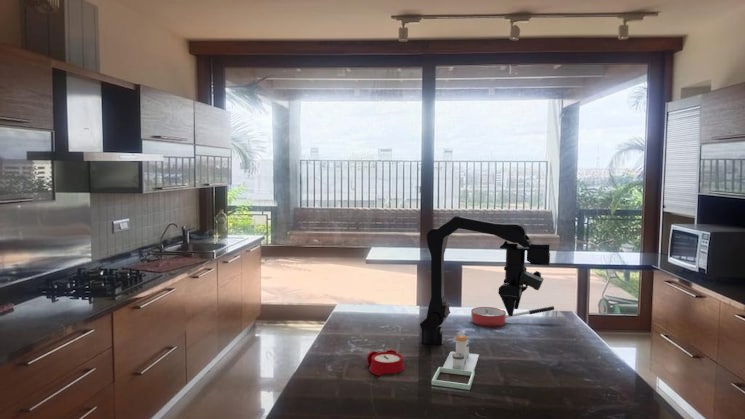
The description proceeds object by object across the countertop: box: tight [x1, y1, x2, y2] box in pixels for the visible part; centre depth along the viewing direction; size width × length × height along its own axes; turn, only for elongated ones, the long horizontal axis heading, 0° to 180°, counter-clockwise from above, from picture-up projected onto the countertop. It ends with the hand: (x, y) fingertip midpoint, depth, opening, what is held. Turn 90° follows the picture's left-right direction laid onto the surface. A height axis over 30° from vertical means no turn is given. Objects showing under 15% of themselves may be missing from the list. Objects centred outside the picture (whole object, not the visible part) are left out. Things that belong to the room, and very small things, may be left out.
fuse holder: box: [442, 341, 480, 371], centre depth 156 cm, size 9×17×5 cm, turn 162°
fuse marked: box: [455, 334, 468, 364], centre depth 155 cm, size 3×3×8 cm
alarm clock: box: [366, 349, 406, 376], centre depth 153 cm, size 10×6×15 cm
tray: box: [431, 366, 475, 394], centre depth 142 cm, size 10×10×2 cm
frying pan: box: [470, 305, 555, 328], centre depth 202 cm, size 32×13×6 cm, turn 97°
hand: (513, 312), depth 163 cm, fingers open, 9 cm apart
